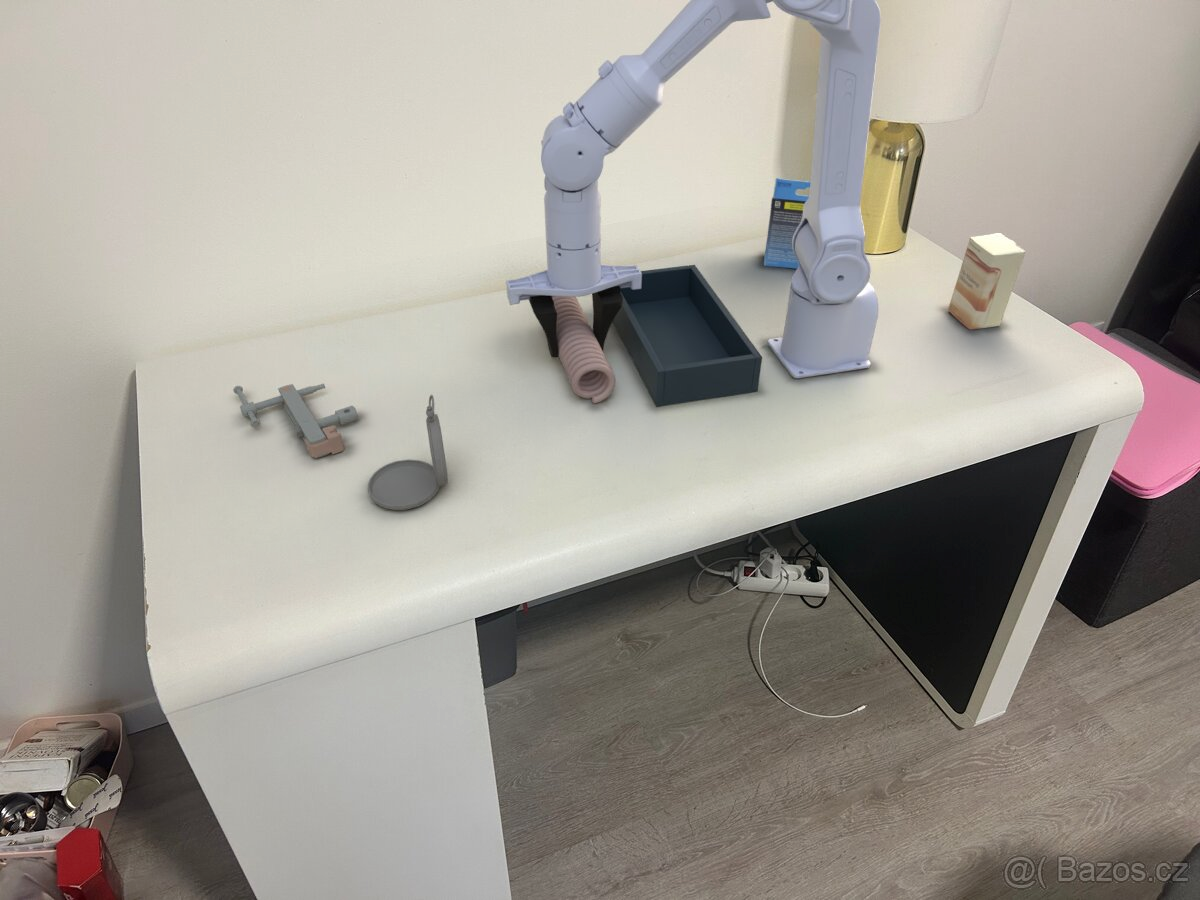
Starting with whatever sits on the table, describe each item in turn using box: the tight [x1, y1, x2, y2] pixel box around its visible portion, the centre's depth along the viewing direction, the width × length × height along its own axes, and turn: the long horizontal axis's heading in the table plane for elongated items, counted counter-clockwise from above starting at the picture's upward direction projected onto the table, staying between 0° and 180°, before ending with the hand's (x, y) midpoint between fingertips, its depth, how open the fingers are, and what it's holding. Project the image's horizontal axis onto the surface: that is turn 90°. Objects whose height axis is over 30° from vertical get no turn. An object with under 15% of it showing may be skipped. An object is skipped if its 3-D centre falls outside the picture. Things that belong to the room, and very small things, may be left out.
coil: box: [552, 296, 616, 404], centre depth 96 cm, size 5×5×18 cm
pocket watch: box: [367, 394, 449, 511], centre depth 77 cm, size 8×8×10 cm
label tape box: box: [763, 177, 810, 270], centre depth 112 cm, size 9×4×12 cm, turn 77°
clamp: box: [232, 383, 359, 459], centre depth 88 cm, size 15×2×10 cm
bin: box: [612, 264, 763, 408], centre depth 98 cm, size 12×22×4 cm, turn 14°
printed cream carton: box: [947, 232, 1027, 331], centre depth 101 cm, size 5×4×10 cm
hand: (576, 349), depth 96 cm, fingers closed on coil, 5 cm apart
